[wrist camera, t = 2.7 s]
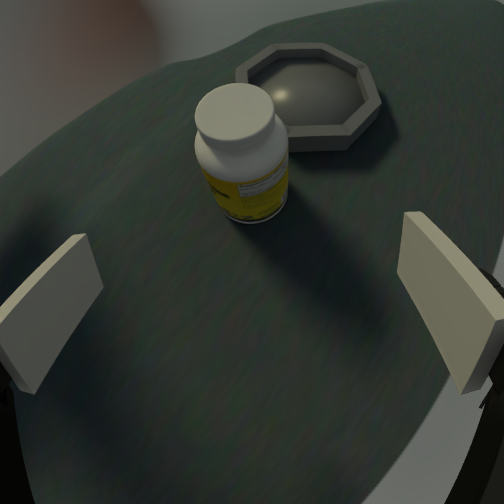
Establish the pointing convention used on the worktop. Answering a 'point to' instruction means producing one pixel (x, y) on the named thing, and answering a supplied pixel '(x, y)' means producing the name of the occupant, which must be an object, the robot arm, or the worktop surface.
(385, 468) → the worktop surface
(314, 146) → the octagonal tray
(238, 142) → the pill bottle
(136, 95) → the worktop surface
